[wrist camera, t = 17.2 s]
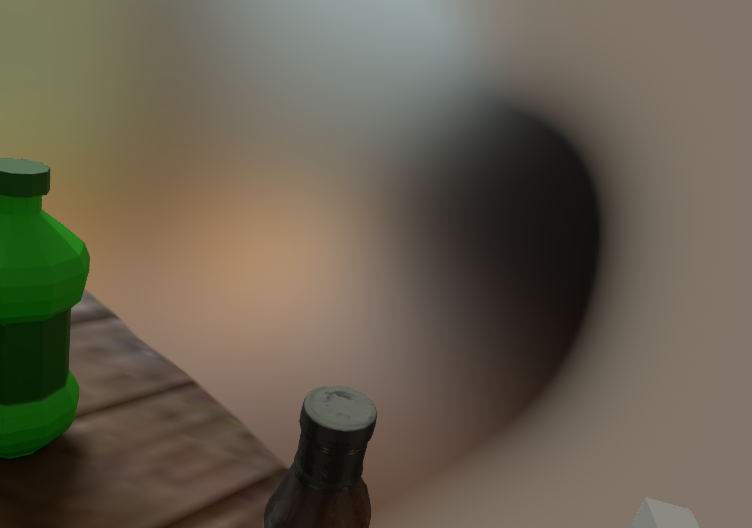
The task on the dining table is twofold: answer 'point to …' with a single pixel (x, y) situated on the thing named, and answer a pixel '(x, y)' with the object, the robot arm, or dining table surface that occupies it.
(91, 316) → the dining table surface
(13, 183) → the plastic bottle
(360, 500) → the sauce bottle
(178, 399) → the dining table surface
